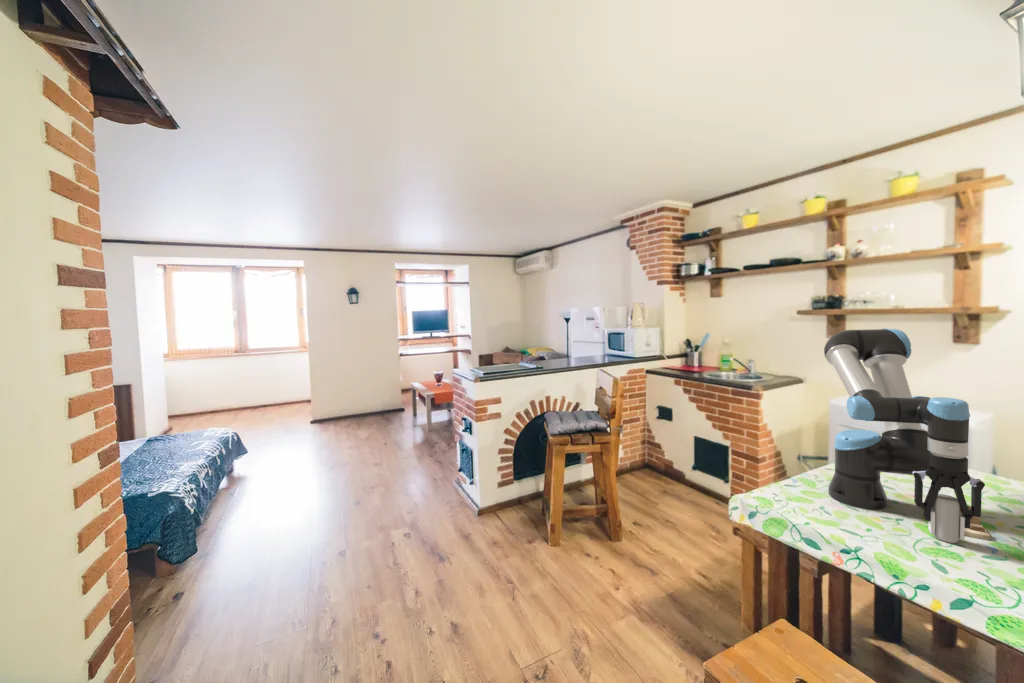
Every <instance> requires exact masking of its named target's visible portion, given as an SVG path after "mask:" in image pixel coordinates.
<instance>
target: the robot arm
mask: <svg viewBox="0 0 1024 683" xmlns="http://www.w3.org/2000/svg"><path fill="white" fill-rule="evenodd" d="M911 347H912V343H911V341H910V338H909V337H908V335H907V334H906V333H905V332H904V331H903V330H900V329H896V328H881V329H879V328H878V329H877V328H876V329H847V330H842V331H839V332H837V333H835V334H833V335H832V336H831V337H830V338H829V339H828V340H827V341H826V342H825V345H824V348H823V354H824V357H825V359H826V362H828V363H829V364H830V365H832V366H833V368H834V369H835V371H836V373H837V375H838V376H839V378H840V380H841V382H842V384H843V386H844V388H845V390H846V391H847V393H848V396H849V397H848V398H847V400H846V411H847V414H848V416H849V417H850V418H851V419H852V420H855V421H856V420H857V421H865V422H884V427H885V429H884V430H883V431H882V432H881V434H880V433H879V432H877V431H873V430H869V429H868V430H866V429H847V430H843V431H840V432H838V433H836V434H835V437H834V444H833V447H834V474H833V476H832V479H831V481H830V483H829V485H828V495H829V496H830V497H831V498H832V499H834V500H836V501H838V502H840V503H842V504H845V505H848V506H851V507H852V506H853V507H856V508H861V509H862V508H863V509H871V510H880V509H884V508H886V507H888V497H887V494H886V492H885V489H884V486H883V484H882V483H881V482H882V481H881V473H888V474H897V475H906V476H907V475H908V476H913V478H914V496H913V497H914V503H915V505H916V506H917V507H918V508H921V509H923V514H922V516H923V517H922V518H923V519H924V520H925V521H926V522H927V523H928V526H927V527H928V528H927V529H928V531H929V533H930V535H933V536H934V535H935V511H934V510H933V508H932V507H933V505H934V502H935V500H936V498H937V495H938V494H940V491H941V489H942V488H949V489H952V490H953V491H954V492H953V493H954V494H955V498H957V499H958V500H959V503H960V509H961V512H962V514H961V513H959V541H963V542H964V541H965V535H964V530H965V528H968V529H969V528H970V519H972V517H980V518H981V517H982V491H983V490H984V487H985V486H986V484H985V482H984V481H983V480H982V479H979V478H975V477H974V478H973V477H971V476H970V474H969V459H968V456H969V435H970V434H969V431H970V417H971V414H970V406H969V403H968V402H967V401H965V400H963V399H959V398H958V399H957V398H952V397H940V396H939V397H938V396H936V397H929V396H923V395H914V396H912V393H911V392H912V391H911V390H910V389H911V388H910V385H909V383H908V380H907V376H906V374H905V370H904V365H905V364H906V363H907V361H908V359H909V358H910V356H911V354H912V348H911ZM861 361H862V362H863V363H862V362H861ZM866 368H867V369H869V370H870V372H871V375H872V377H871V376H870V375H869V373H868V371H867V370H866ZM872 379H873V380H872ZM921 424H922V425H926V426H927V430H926V429H924V428H922V426H921ZM925 477H928V478H929V480H930V481H931V483H930V487H929V489H928V492H927V494H926V497H925V499H923V497H924V496H923V494H924V491H923V490H924V489H923V488H924V487H923V486H924V481H923V480H924V479H925ZM968 482H969V485H970V486H971V490H970V491H971V493H970V494H971V495H970V497H971V498H970V500H971V501H970V507H971V510H969V509H968V506H969V505H968V504H967V500H966V498H965V495H964V491H963V488H962V487H963V486H965V484H967V483H968ZM923 500H924V501H923ZM967 505H968V506H967Z"/></svg>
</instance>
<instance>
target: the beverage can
mask: <svg viewBox="0 0 1024 683" xmlns="http://www.w3.org/2000/svg"><path fill="white" fill-rule="evenodd" d="M959 507H960V503H959V500H958V499H957V498H956V496H955V497H954V496H952V495H948V494H942V493H938V495H937V498H936V500H935V502H934V511H935V535H933V536H934V537H935V538H936V539H938V540H939V541H942V542H944V543H949V544H956V543H958V542H959V541H960V539H959Z"/></svg>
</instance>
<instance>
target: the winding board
mask: <svg viewBox="0 0 1024 683" xmlns="http://www.w3.org/2000/svg"><path fill="white" fill-rule="evenodd" d="M967 506H968V509H969V510H971V505H969V504H967ZM932 508H933V510H934V505H933V507H932ZM959 513H961V514H962V512H961V509H960V507H959ZM965 536H966V537H971V538H976V539H981V540H987V541H991V539H992V538H991V534H989V533H988V531H987V530H986V528H985V527H983V525H982V524H981V517H972V519H970V528H969V529H968V528H965V530H964V537H965Z"/></svg>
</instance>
